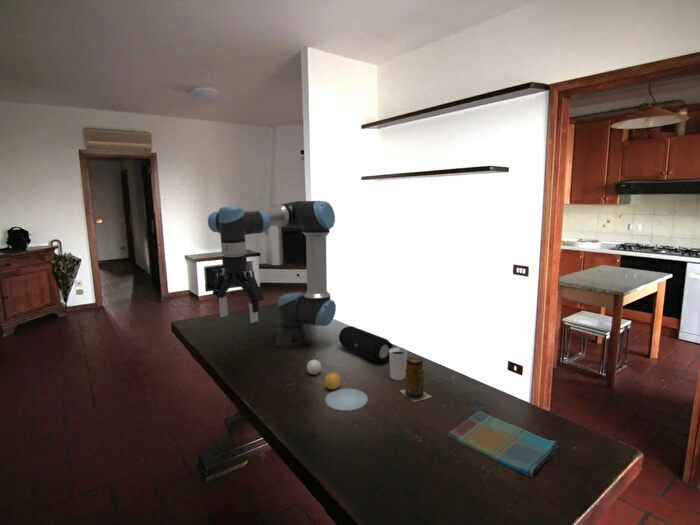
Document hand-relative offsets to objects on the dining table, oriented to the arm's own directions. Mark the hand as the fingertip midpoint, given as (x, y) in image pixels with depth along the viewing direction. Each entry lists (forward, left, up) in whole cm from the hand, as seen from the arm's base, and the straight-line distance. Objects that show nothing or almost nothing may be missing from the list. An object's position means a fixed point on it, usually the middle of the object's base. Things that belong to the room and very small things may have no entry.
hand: (238, 318), depth 129 cm
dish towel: (-11, +81, -28) cm, 87 cm away
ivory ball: (-24, +13, -24) cm, 37 cm away
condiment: (-26, +52, -27) cm, 64 cm away
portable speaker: (-49, +23, -28) cm, 61 cm away
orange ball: (-17, +25, -24) cm, 39 cm away
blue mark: (-13, +33, -27) cm, 45 cm away
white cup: (-36, +42, -27) cm, 62 cm away
